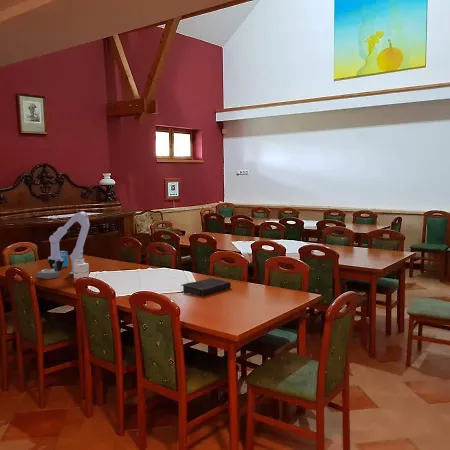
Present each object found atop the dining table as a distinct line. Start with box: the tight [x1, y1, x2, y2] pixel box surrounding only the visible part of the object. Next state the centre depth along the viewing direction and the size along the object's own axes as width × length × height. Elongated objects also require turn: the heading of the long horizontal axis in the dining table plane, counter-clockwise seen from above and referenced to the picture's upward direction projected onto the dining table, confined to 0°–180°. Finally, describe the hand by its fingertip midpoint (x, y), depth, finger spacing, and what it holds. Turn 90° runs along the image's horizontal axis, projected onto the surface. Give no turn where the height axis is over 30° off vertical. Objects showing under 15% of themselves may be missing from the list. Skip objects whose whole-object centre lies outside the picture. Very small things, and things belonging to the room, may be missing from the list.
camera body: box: [36, 268, 60, 280], centre depth 324 cm, size 12×9×5 cm
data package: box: [55, 250, 69, 268], centre depth 358 cm, size 12×4×12 cm, turn 140°
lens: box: [53, 263, 61, 274], centre depth 336 cm, size 5×5×7 cm
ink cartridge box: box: [73, 257, 90, 283], centre depth 309 cm, size 9×5×15 cm, turn 141°
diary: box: [180, 277, 232, 297], centre depth 281 cm, size 19×25×5 cm
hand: (56, 270), depth 336 cm, fingers open, 7 cm apart
